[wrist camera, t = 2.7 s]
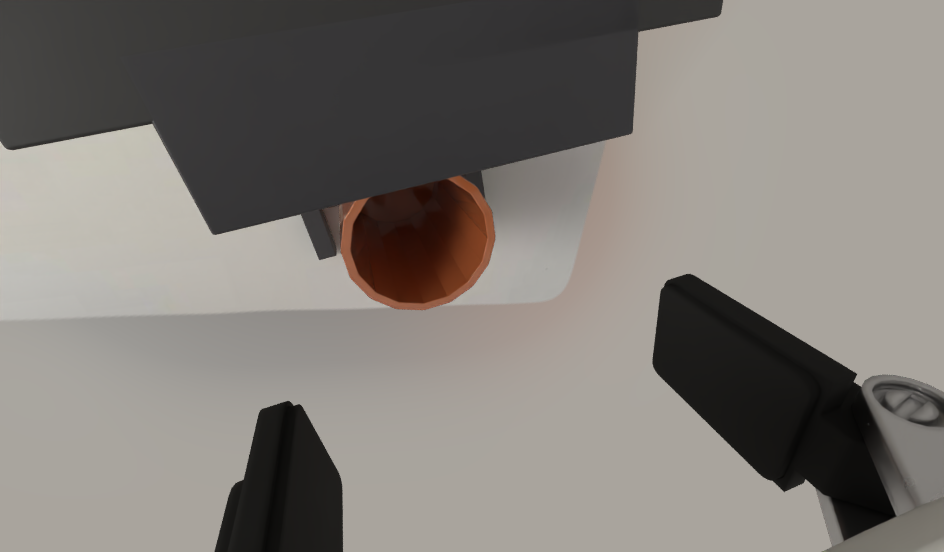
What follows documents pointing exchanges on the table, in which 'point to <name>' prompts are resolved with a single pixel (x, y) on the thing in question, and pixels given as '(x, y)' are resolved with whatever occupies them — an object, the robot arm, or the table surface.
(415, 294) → the orange tube
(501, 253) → the table surface
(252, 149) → the black box with legs
